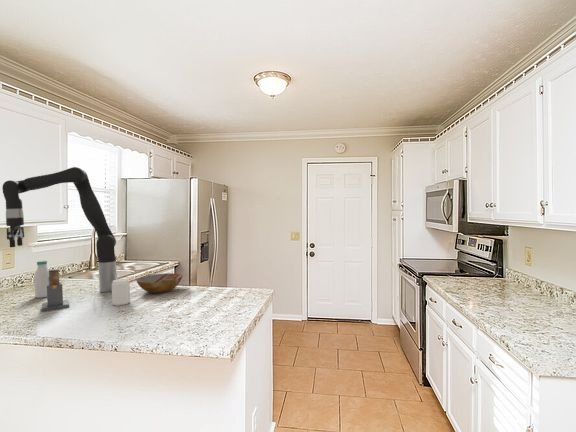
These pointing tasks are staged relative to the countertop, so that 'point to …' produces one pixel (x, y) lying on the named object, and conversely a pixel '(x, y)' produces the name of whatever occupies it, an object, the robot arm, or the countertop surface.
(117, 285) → the white upright block
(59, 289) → the stand sleeve
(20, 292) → the countertop surface
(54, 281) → the walnut post
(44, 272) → the milk bottle
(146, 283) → the bowl
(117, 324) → the countertop surface
